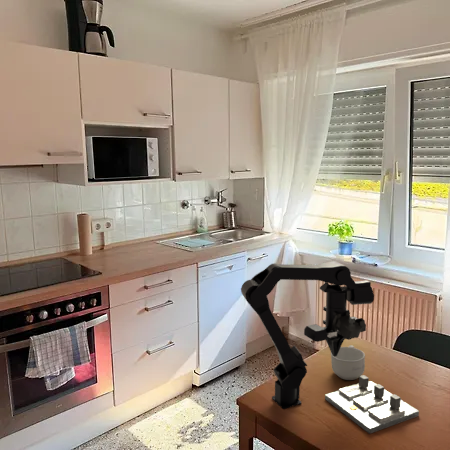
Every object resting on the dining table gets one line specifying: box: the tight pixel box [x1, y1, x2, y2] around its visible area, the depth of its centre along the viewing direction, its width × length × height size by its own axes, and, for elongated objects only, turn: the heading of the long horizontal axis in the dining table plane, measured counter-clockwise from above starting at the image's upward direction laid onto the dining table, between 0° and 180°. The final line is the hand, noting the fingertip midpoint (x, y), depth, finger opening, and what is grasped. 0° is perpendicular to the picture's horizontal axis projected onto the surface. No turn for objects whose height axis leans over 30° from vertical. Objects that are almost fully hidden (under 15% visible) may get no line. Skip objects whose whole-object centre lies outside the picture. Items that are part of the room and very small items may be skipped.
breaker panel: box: [324, 380, 420, 434], centre depth 120 cm, size 18×18×3 cm
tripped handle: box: [374, 383, 385, 398], centre depth 121 cm, size 2×2×3 cm
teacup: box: [330, 345, 366, 381], centre depth 139 cm, size 14×11×8 cm
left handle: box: [358, 374, 370, 388], centre depth 127 cm, size 2×2×3 cm
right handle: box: [390, 393, 402, 409], centre depth 116 cm, size 2×2×3 cm
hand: (334, 355), depth 124 cm, fingers closed
